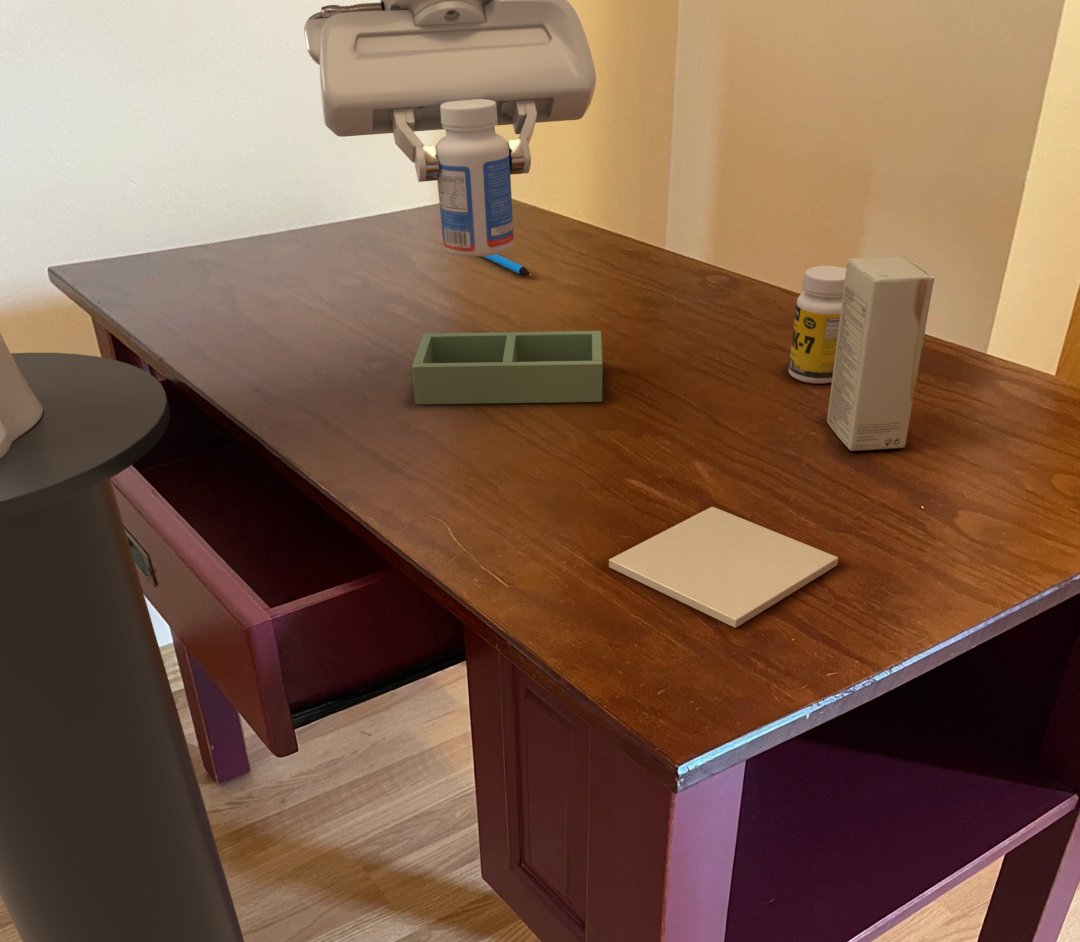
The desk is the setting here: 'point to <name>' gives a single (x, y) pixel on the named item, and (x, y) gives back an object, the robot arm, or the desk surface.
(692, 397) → the desk surface
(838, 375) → the cosmetic box
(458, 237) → the pill bottle
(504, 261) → the pen
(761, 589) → the tile
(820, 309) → the supplement bottle
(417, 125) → the robot arm
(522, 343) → the bottle rack
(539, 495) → the desk surface
